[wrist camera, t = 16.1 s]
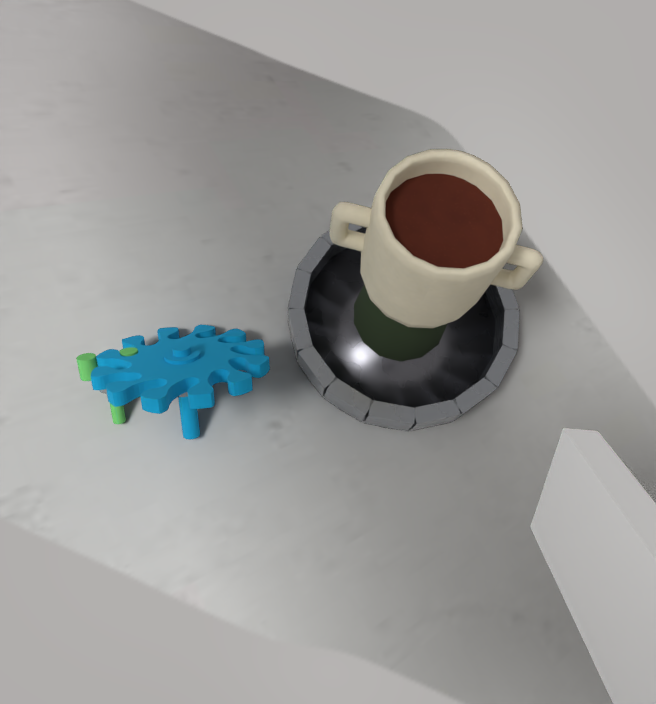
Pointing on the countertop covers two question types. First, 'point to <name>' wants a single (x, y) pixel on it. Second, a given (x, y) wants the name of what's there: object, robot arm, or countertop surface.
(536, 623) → the countertop surface
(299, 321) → the grey round tray
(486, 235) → the character mug
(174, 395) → the gear
